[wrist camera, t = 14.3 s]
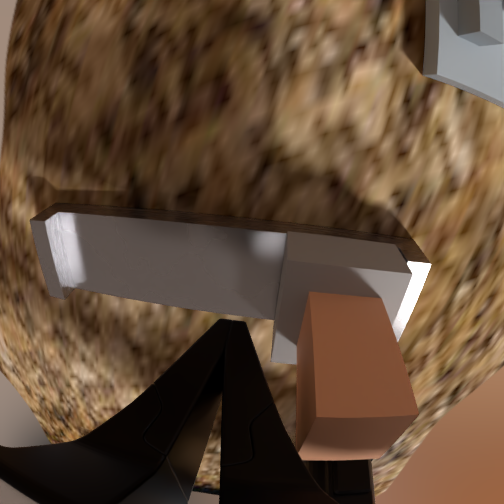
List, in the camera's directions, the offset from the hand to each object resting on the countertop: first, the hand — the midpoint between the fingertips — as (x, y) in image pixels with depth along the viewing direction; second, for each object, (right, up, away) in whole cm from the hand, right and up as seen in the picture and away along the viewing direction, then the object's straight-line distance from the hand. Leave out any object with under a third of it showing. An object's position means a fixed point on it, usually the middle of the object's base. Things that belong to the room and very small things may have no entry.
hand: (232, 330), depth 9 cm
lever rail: (-1, +2, +4) cm, 4 cm away
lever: (+4, +1, +2) cm, 4 cm away
